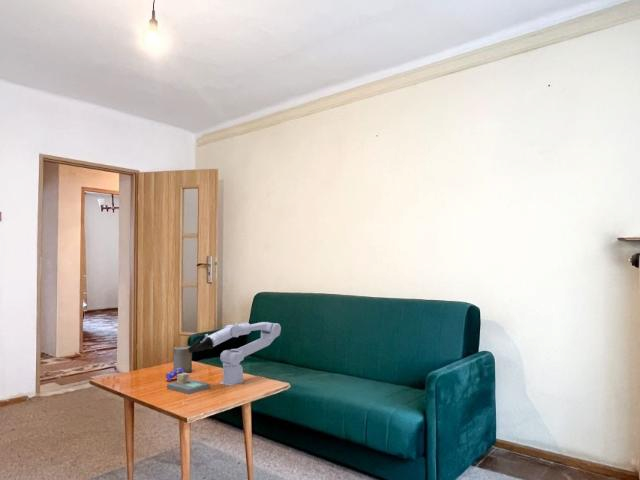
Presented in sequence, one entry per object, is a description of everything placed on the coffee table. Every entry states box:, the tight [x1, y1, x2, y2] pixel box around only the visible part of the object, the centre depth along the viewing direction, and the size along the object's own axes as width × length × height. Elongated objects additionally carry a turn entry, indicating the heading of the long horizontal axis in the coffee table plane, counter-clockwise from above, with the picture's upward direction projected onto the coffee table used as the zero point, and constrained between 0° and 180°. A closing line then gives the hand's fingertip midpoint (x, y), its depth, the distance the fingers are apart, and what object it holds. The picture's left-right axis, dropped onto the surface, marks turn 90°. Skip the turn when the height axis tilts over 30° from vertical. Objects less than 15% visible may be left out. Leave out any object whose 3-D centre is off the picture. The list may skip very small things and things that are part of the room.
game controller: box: [165, 367, 185, 383], centre depth 215 cm, size 10×8×10 cm
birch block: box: [176, 373, 190, 385], centre depth 202 cm, size 4×4×6 cm
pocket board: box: [166, 378, 211, 395], centre depth 200 cm, size 12×16×3 cm
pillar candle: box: [173, 345, 193, 374], centre depth 233 cm, size 10×10×15 cm
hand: (192, 350), depth 195 cm, fingers open, 7 cm apart
